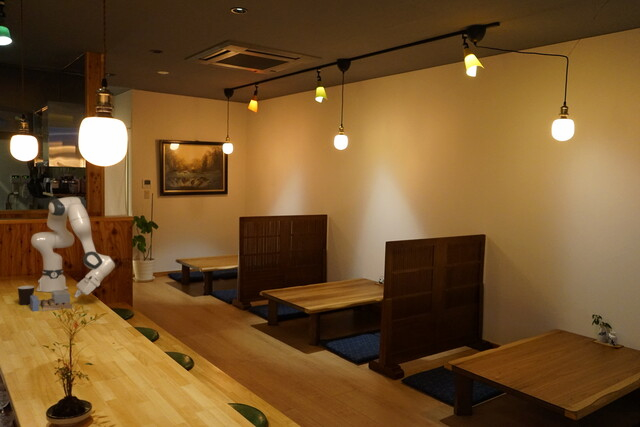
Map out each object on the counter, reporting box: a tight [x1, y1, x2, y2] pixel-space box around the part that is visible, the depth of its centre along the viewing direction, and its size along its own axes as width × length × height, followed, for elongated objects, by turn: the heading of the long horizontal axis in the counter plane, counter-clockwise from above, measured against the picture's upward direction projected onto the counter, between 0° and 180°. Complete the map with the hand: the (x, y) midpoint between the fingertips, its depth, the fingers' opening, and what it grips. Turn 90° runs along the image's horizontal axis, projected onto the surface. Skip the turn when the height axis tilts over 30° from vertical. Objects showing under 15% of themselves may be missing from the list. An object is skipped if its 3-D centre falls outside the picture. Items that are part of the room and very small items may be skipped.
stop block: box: [29, 294, 40, 312], centre depth 287 cm, size 14×3×6 cm, turn 36°
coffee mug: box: [17, 285, 35, 306], centre depth 297 cm, size 12×9×10 cm
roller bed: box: [39, 298, 73, 312], centre depth 294 cm, size 18×15×3 cm
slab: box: [50, 289, 71, 304], centre depth 295 cm, size 12×8×5 cm, turn 36°
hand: (74, 296), depth 300 cm, fingers closed
